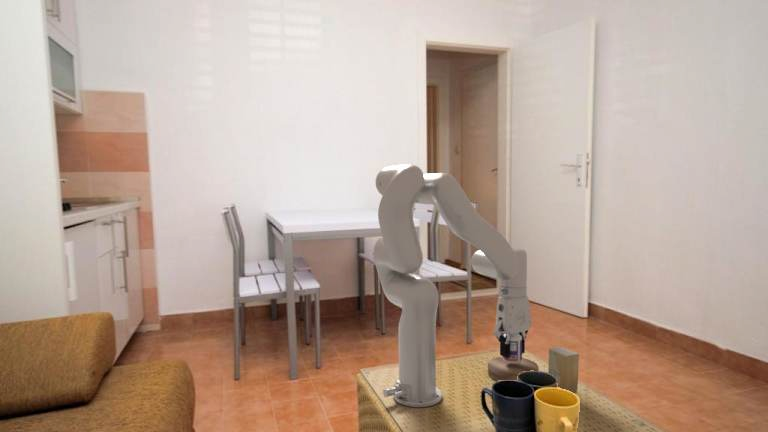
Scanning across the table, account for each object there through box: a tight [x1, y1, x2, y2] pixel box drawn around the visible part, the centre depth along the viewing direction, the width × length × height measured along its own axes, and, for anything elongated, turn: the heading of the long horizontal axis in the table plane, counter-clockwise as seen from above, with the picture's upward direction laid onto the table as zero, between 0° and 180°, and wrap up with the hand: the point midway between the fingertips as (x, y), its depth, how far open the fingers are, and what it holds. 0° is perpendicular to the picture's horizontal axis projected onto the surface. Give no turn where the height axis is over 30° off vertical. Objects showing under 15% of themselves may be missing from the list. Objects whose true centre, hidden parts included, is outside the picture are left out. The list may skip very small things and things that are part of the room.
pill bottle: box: [503, 333, 523, 364], centre depth 134 cm, size 5×5×10 cm
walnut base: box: [487, 356, 540, 382], centre depth 134 cm, size 14×14×3 cm
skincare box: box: [547, 346, 580, 395], centre depth 119 cm, size 6×4×12 cm
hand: (512, 353), depth 134 cm, fingers closed on pill bottle, 5 cm apart
